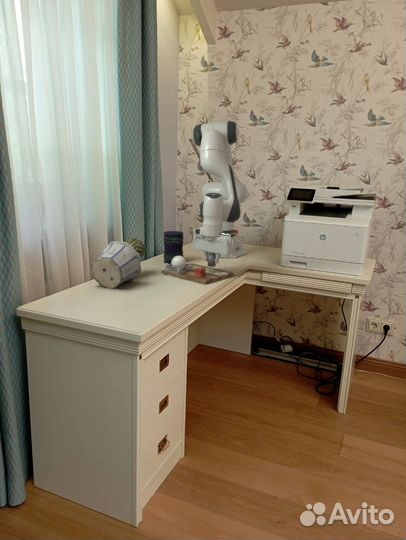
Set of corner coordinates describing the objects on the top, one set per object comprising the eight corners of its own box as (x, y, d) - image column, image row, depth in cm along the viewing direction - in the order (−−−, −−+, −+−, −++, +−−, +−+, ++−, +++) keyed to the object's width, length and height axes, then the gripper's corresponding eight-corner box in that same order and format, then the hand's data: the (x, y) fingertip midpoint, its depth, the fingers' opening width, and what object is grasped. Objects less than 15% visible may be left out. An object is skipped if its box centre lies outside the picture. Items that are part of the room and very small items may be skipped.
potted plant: (122, 255, 158) (155, 226, 183) (81, 254, 164) (118, 225, 189) (131, 296, 166) (161, 263, 191) (91, 293, 171) (125, 261, 197)
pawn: (211, 264, 191) (212, 247, 190) (217, 266, 189) (218, 249, 187) (205, 265, 189) (206, 248, 187) (211, 267, 187) (212, 249, 185)
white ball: (178, 267, 195) (178, 253, 194) (188, 270, 191) (188, 255, 190) (168, 269, 191) (168, 255, 189) (178, 272, 187) (178, 258, 185)
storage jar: (186, 263, 212) (186, 233, 208) (167, 264, 208) (167, 234, 205) (179, 259, 221) (179, 230, 217) (161, 260, 217) (160, 231, 214)
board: (191, 266, 206) (191, 256, 205) (234, 275, 189) (234, 265, 188) (161, 273, 192) (161, 263, 190) (204, 284, 175) (204, 273, 174)
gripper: (236, 233, 181) (234, 265, 184) (200, 228, 194) (199, 257, 198) (226, 234, 176) (225, 267, 180) (190, 229, 190) (190, 259, 193)
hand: (211, 262), depth 189 cm, fingers closed on pawn, 4 cm apart
